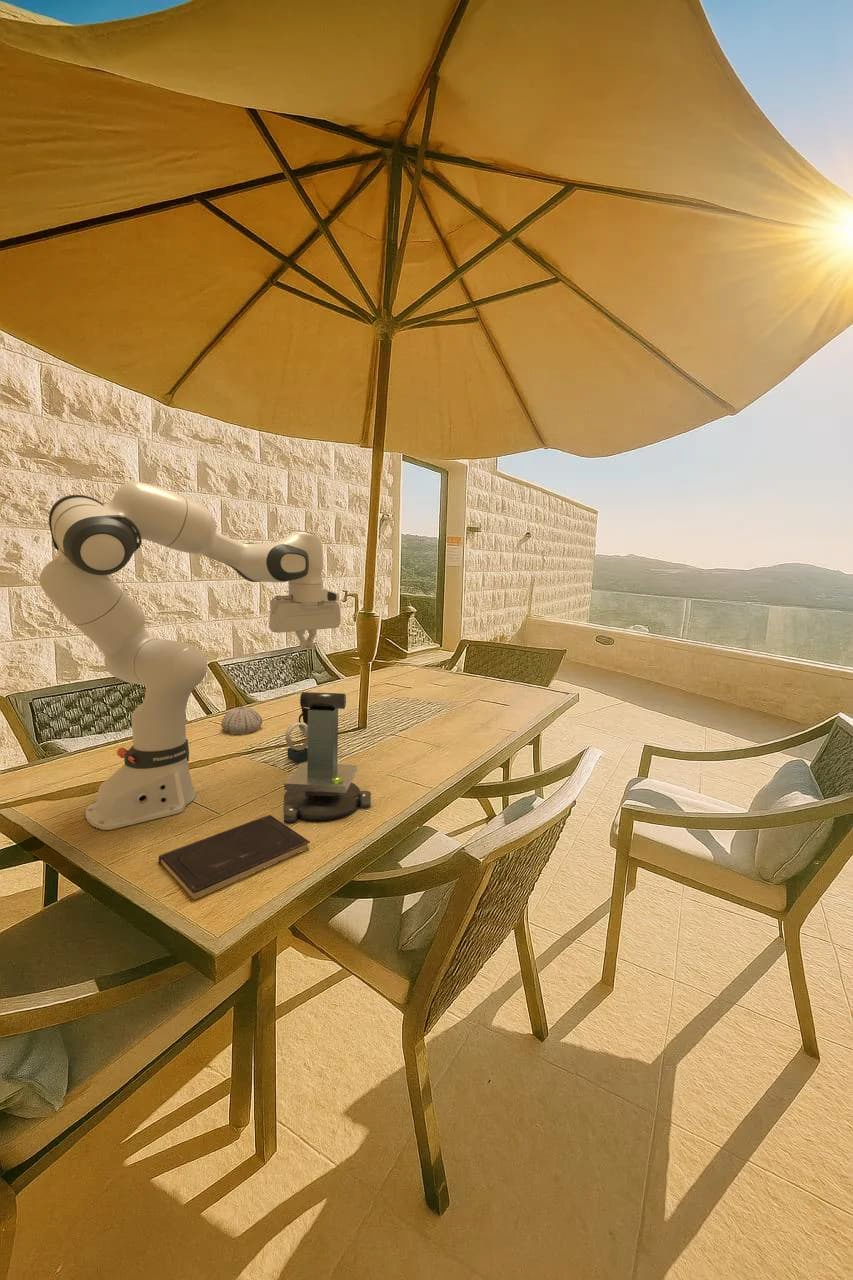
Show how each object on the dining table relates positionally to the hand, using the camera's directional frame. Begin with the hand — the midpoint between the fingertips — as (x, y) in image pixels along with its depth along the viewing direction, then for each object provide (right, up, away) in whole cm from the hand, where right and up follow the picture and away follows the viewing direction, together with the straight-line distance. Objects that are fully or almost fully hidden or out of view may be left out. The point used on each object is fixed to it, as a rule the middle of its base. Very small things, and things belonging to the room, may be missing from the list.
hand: (306, 646), depth 134 cm
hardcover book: (-5, -41, -35) cm, 54 cm away
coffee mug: (-7, -30, +36) cm, 48 cm away
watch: (-6, -33, +15) cm, 37 cm away
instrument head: (+7, -32, -14) cm, 35 cm away
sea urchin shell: (-31, -29, +39) cm, 58 cm away
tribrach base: (+8, -38, -13) cm, 40 cm away
